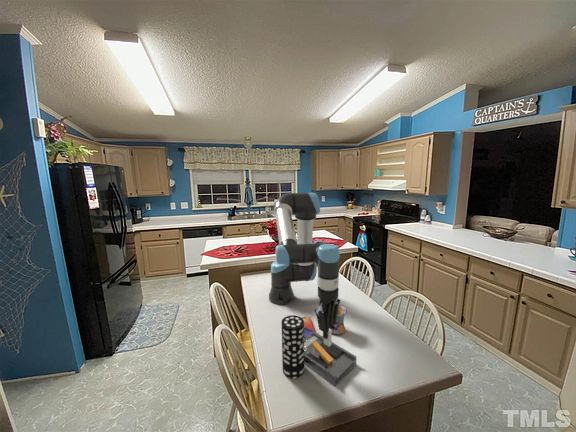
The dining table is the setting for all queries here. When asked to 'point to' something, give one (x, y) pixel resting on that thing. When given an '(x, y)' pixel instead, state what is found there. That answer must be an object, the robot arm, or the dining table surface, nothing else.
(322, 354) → the orange rectangular bar
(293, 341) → the spotted tube
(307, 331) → the smartphone
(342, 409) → the dining table surface
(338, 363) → the dark grey tray
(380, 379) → the dining table surface
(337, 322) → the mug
